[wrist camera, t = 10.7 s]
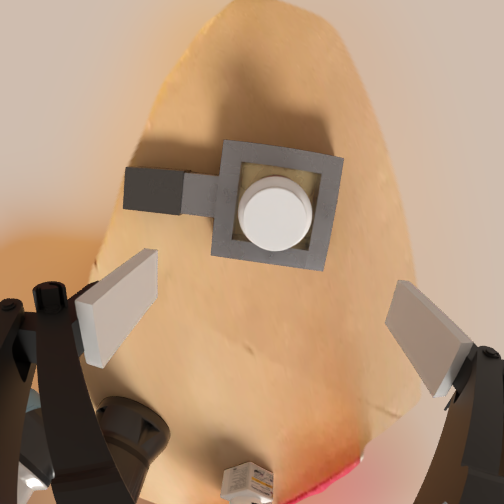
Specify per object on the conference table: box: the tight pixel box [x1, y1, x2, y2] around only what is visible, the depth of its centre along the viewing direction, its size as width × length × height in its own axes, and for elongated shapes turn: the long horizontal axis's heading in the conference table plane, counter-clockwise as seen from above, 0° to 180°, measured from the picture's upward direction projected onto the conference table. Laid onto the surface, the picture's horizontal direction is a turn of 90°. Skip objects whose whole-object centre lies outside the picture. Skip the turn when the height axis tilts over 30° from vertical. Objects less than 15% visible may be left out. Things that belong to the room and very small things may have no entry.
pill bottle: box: [238, 175, 312, 251], centre depth 26 cm, size 6×6×11 cm
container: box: [220, 462, 274, 504], centre depth 42 cm, size 8×8×13 cm
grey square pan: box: [123, 140, 344, 271], centre depth 31 cm, size 23×12×4 cm, turn 82°
